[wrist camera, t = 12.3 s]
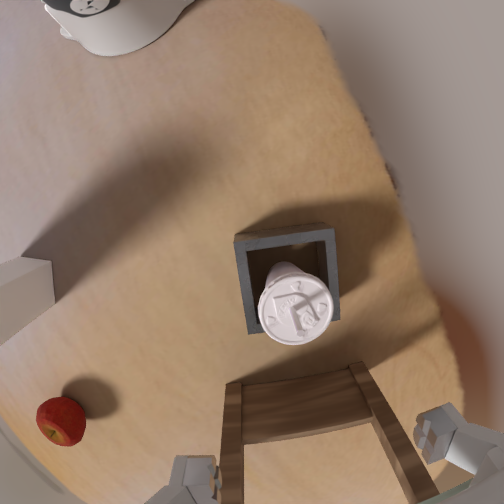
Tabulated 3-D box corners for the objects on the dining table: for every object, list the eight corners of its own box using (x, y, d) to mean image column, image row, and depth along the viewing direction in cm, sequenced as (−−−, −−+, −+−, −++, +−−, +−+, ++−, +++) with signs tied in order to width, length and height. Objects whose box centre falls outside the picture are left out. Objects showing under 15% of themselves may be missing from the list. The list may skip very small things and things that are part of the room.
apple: (88, 431, 40) (71, 462, 33) (49, 407, 39) (28, 435, 32) (96, 404, 39) (77, 437, 31) (53, 378, 38) (29, 407, 30)
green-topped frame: (214, 352, 37) (184, 554, 11) (367, 328, 37) (483, 487, 11) (225, 395, 38) (211, 580, 13) (365, 372, 38) (452, 529, 13)
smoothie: (276, 237, 34) (297, 276, 20) (323, 269, 35) (367, 322, 21) (243, 285, 35) (242, 349, 21) (290, 314, 36) (313, 386, 22)
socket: (234, 234, 34) (233, 242, 29) (323, 222, 34) (334, 228, 29) (247, 316, 36) (248, 334, 32) (329, 303, 36) (340, 319, 31)
